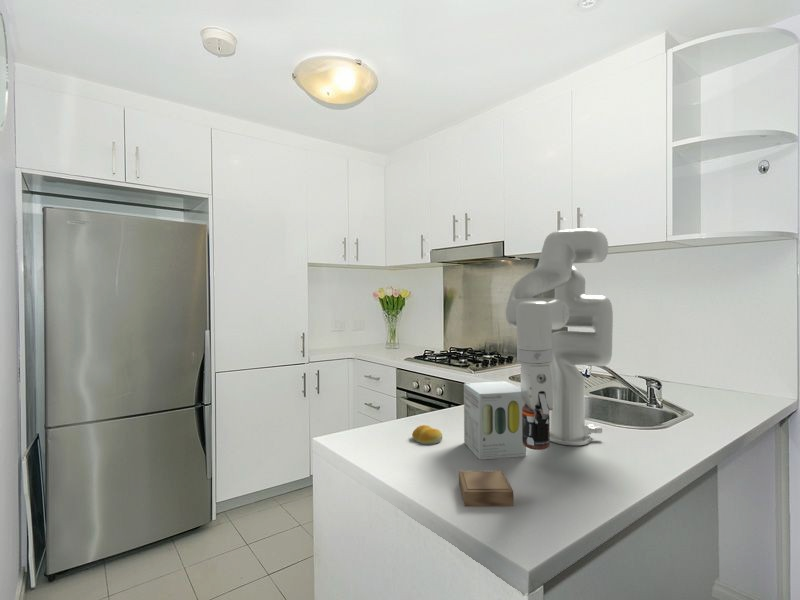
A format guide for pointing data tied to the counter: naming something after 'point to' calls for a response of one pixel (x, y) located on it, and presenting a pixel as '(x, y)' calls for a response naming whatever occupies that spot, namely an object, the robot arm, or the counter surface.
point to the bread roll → (427, 435)
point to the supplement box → (493, 420)
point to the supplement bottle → (528, 430)
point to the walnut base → (485, 488)
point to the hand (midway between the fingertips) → (535, 434)
